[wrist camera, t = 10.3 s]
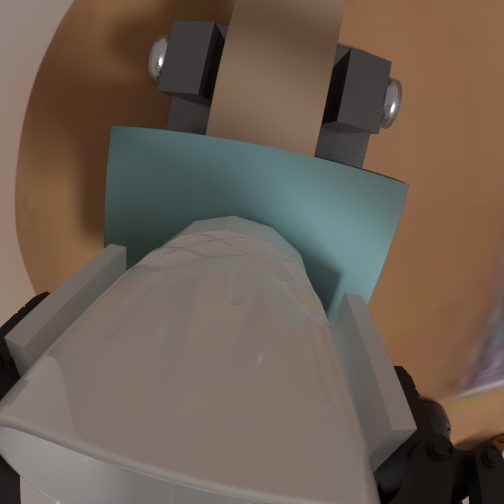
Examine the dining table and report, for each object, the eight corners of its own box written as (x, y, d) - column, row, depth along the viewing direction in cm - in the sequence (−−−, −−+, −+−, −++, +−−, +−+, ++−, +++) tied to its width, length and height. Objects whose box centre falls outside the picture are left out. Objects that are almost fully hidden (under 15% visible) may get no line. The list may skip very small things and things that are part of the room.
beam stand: (354, 178, 18) (405, 210, 10) (169, 141, 18) (104, 150, 10) (378, 63, 15) (439, 29, 7) (193, 27, 15) (145, -27, 7)
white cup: (307, 365, 14) (319, 563, 5) (152, 348, 14) (74, 519, 5) (338, 209, 11) (490, 453, 2) (138, 194, 11) (-79, 344, 2)
